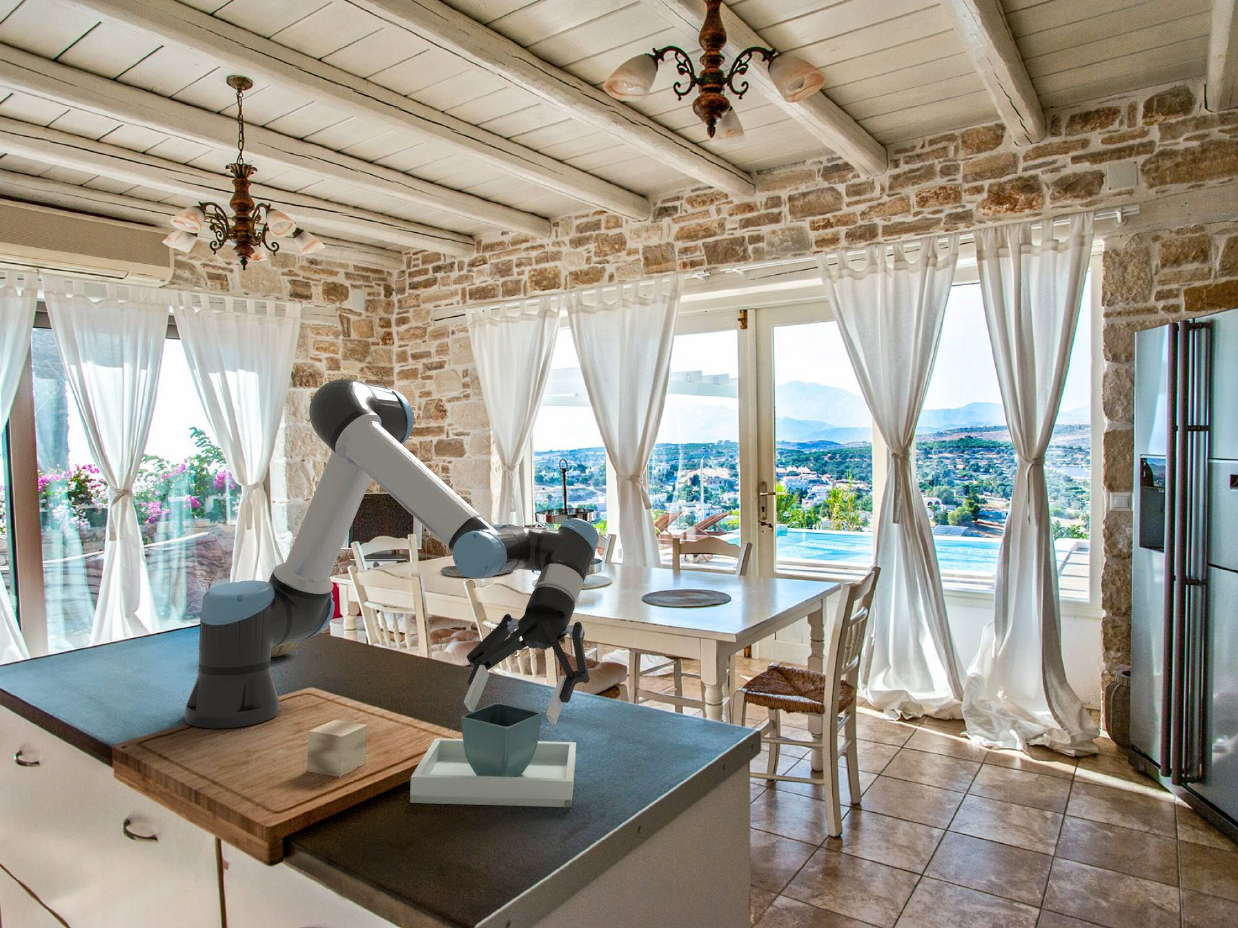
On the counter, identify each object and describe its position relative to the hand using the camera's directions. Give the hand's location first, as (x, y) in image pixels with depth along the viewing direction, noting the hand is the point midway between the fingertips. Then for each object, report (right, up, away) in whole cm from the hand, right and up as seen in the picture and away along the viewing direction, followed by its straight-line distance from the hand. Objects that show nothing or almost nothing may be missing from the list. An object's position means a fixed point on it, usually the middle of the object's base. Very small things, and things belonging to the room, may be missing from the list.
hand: (508, 713), depth 118 cm
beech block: (-26, -9, +2) cm, 28 cm away
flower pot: (-1, -9, -1) cm, 9 cm away
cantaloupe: (-66, -9, +70) cm, 97 cm away
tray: (-1, -10, -1) cm, 10 cm away
